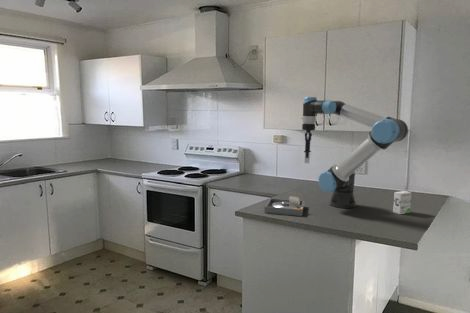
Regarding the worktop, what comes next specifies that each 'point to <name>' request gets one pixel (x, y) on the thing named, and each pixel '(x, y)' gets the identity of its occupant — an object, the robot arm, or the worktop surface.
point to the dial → (288, 203)
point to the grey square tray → (283, 210)
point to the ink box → (402, 202)
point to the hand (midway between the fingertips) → (306, 163)
